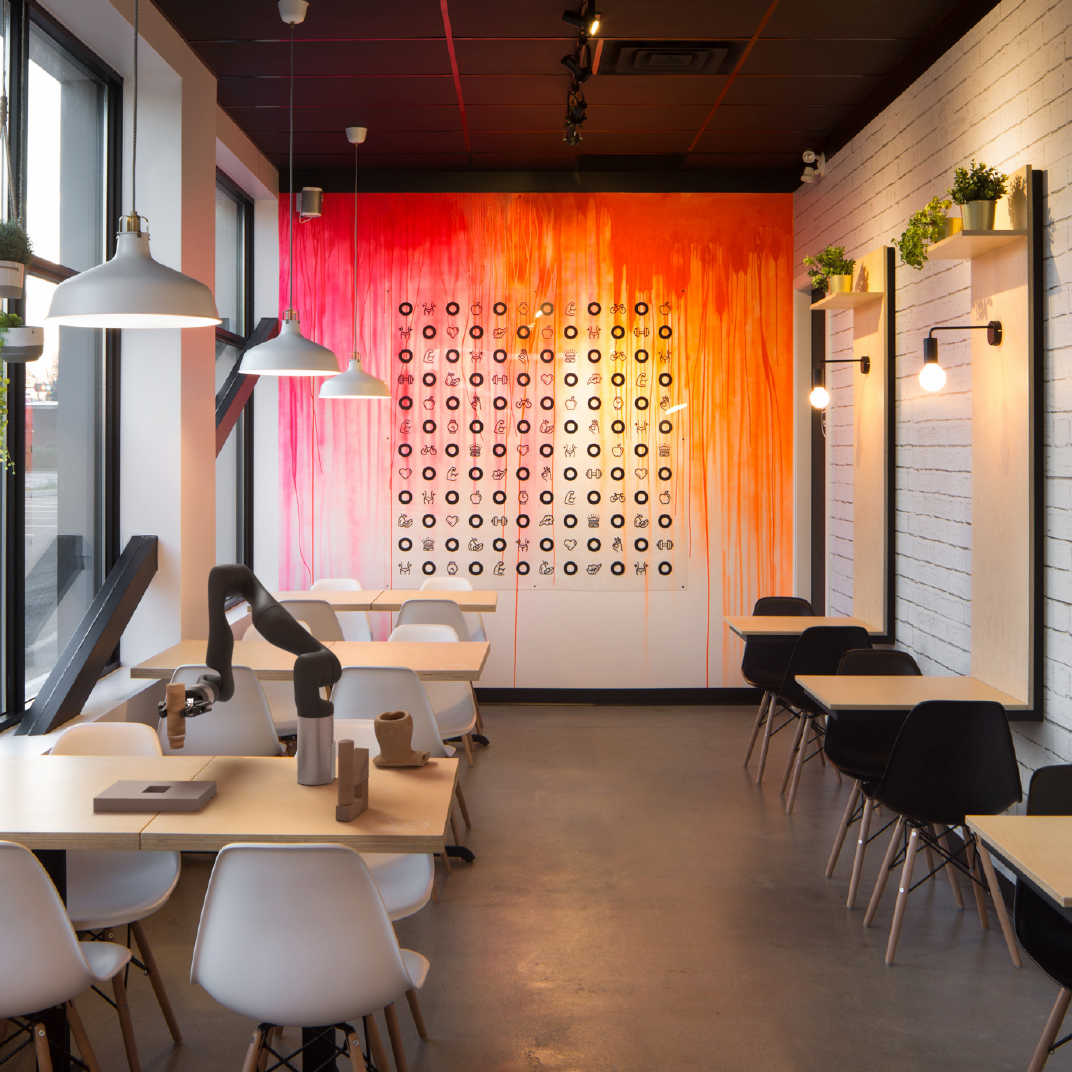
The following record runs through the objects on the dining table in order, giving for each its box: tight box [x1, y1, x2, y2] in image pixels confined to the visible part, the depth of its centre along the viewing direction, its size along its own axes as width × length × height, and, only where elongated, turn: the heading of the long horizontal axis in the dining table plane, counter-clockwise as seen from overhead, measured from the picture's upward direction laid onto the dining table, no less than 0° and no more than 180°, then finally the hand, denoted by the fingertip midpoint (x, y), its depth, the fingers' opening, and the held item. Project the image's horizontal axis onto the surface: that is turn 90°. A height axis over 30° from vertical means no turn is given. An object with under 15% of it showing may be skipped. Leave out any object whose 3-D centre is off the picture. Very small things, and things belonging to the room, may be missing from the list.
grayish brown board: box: [92, 779, 218, 813], centre depth 231 cm, size 24×14×3 cm, turn 91°
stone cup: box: [372, 709, 432, 767], centre depth 264 cm, size 15×12×15 cm
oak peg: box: [165, 682, 187, 750], centre depth 243 cm, size 5×5×16 cm
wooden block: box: [335, 738, 370, 823], centre depth 223 cm, size 4×11×18 cm, turn 167°
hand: (172, 714), depth 240 cm, fingers closed on oak peg, 4 cm apart
